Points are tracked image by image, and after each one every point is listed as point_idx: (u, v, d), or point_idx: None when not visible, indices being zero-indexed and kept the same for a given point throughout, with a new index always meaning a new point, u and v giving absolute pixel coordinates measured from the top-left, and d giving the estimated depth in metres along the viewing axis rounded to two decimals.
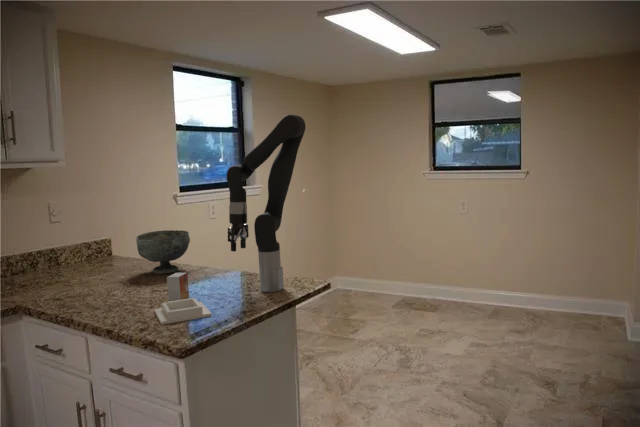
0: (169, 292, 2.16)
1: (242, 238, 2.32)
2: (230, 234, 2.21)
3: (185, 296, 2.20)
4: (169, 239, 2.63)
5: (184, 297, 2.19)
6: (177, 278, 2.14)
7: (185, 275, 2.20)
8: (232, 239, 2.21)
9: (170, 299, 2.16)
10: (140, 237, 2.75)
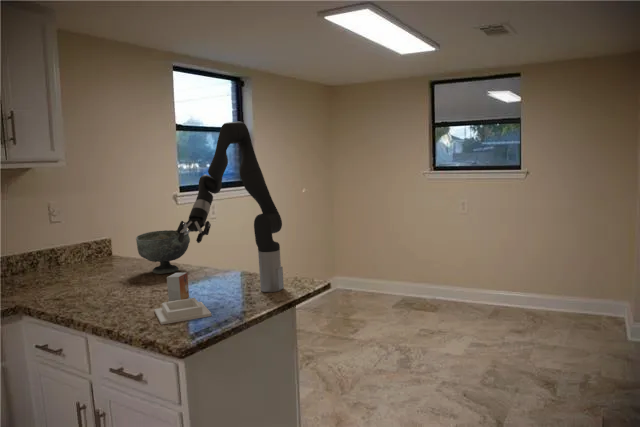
0: (169, 292, 2.16)
1: None
2: None
3: (185, 296, 2.20)
4: (169, 239, 2.63)
5: (184, 297, 2.19)
6: (177, 278, 2.14)
7: (185, 275, 2.20)
8: (177, 229, 2.32)
9: (170, 299, 2.16)
10: (140, 237, 2.75)
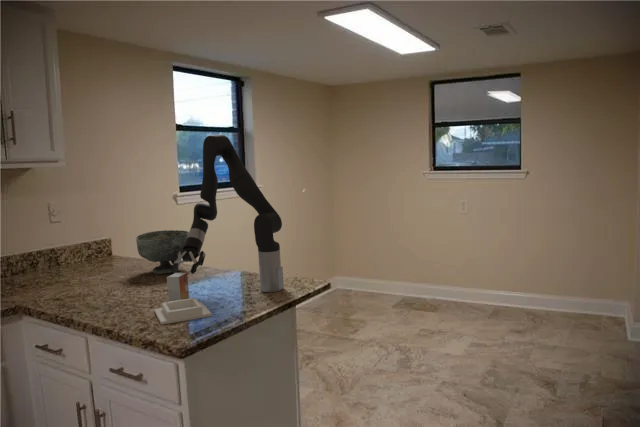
0: (169, 292, 2.16)
1: None
2: None
3: (185, 296, 2.20)
4: (169, 239, 2.63)
5: (184, 297, 2.19)
6: (177, 278, 2.14)
7: (185, 275, 2.20)
8: (171, 260, 2.28)
9: (170, 299, 2.16)
10: (140, 237, 2.75)
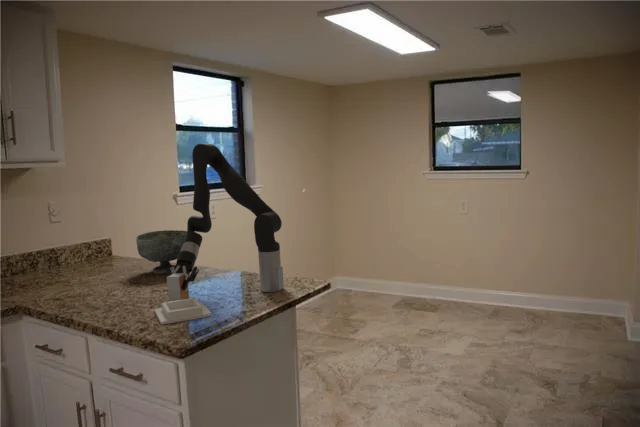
0: (169, 292, 2.16)
1: None
2: None
3: (185, 296, 2.20)
4: (169, 239, 2.63)
5: (184, 297, 2.18)
6: (177, 278, 2.14)
7: None
8: (166, 276, 2.21)
9: (170, 299, 2.16)
10: (140, 237, 2.75)
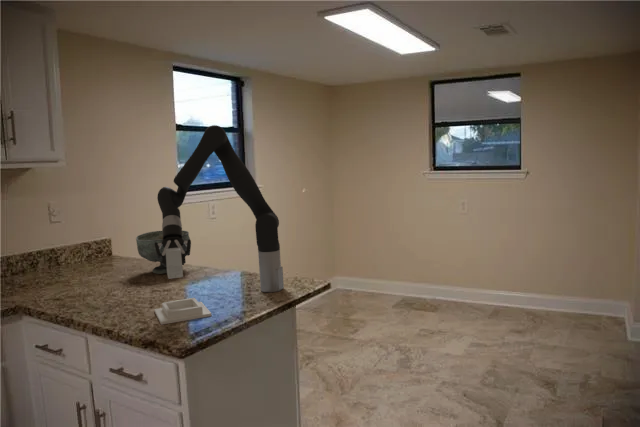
0: (169, 268, 1.98)
1: None
2: None
3: None
4: None
5: None
6: (179, 251, 1.99)
7: None
8: (156, 252, 2.01)
9: (170, 275, 1.98)
10: (140, 237, 2.75)
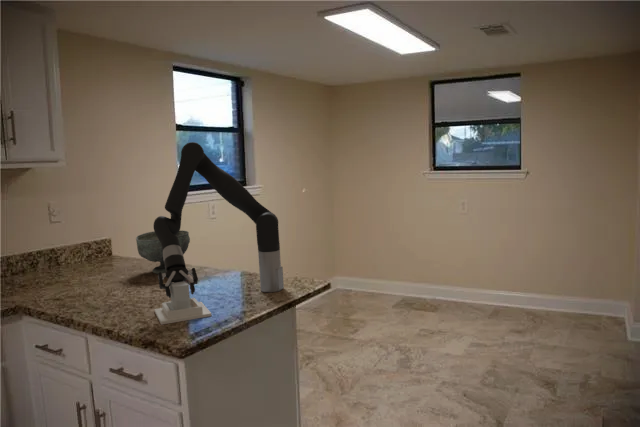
0: (177, 304, 1.94)
1: (190, 283, 2.01)
2: (159, 280, 1.98)
3: None
4: None
5: None
6: (186, 286, 1.95)
7: None
8: (159, 283, 1.97)
9: None
10: (140, 237, 2.75)
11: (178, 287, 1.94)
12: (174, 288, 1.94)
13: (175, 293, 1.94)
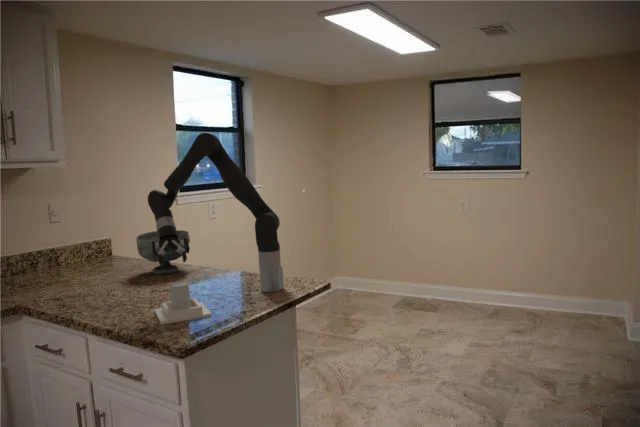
0: (177, 304, 1.94)
1: (182, 252, 2.12)
2: (152, 249, 2.09)
3: None
4: None
5: None
6: (186, 286, 1.95)
7: None
8: (152, 251, 2.07)
9: None
10: (140, 237, 2.75)
11: (178, 287, 1.94)
12: (174, 288, 1.94)
13: (175, 293, 1.94)
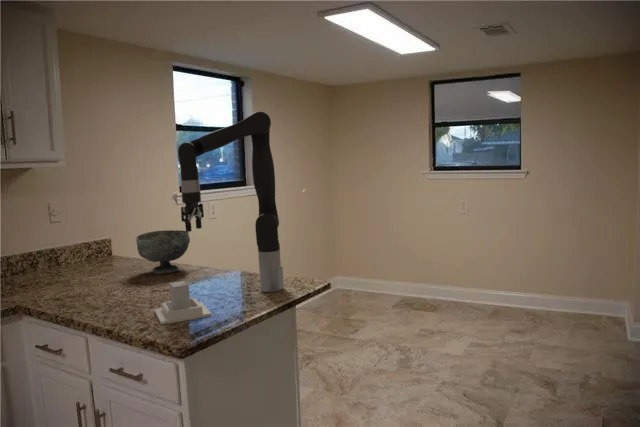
0: (177, 304, 1.94)
1: (197, 218, 2.24)
2: (184, 214, 2.13)
3: None
4: (169, 239, 2.63)
5: None
6: (186, 286, 1.95)
7: None
8: (186, 219, 2.13)
9: None
10: (140, 237, 2.75)
11: (178, 287, 1.94)
12: (174, 288, 1.94)
13: (175, 293, 1.94)
